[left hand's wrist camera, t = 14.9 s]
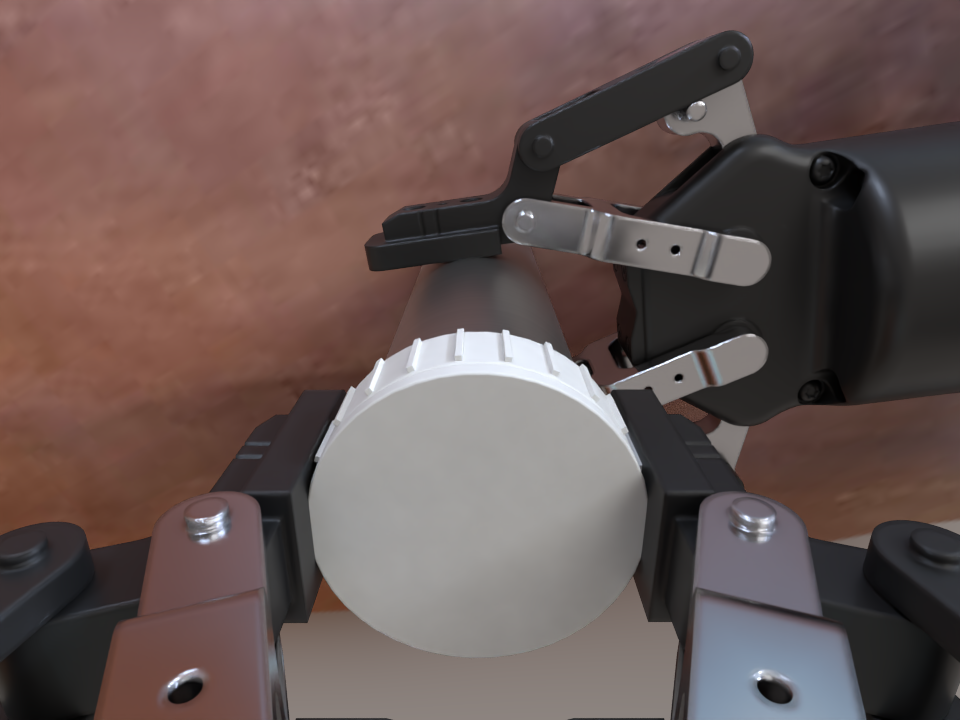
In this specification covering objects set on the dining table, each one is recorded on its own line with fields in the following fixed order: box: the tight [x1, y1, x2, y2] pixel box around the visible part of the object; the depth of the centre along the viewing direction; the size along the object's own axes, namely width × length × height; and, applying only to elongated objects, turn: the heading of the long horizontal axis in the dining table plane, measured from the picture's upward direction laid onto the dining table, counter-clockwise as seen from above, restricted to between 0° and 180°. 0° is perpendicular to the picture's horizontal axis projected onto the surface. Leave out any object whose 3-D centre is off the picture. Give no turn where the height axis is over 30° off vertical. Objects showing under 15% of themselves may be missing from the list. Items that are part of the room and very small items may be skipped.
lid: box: [308, 329, 648, 658], centre depth 10 cm, size 5×5×2 cm
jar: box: [385, 243, 573, 362], centre depth 17 cm, size 4×4×16 cm
